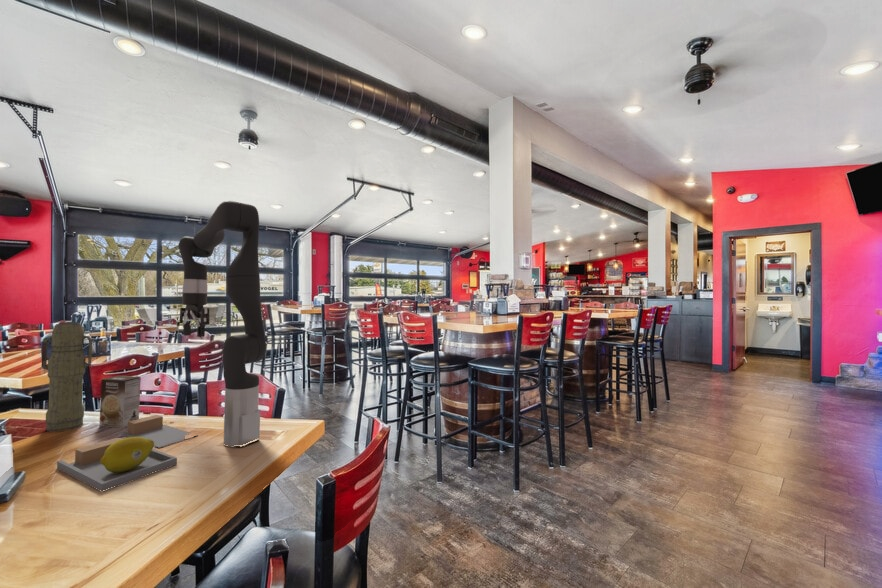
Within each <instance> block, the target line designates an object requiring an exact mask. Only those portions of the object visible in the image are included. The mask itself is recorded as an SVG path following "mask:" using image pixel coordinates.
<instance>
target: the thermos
mask: <svg viewBox="0 0 882 588" xmlns="http://www.w3.org/2000/svg"><path fill="white" fill-rule="evenodd" d="M86 339H87V340H88V359H87V358H86V355H85V352H84V344H85V343H84V342H85V340H86ZM49 341H51V343H50V344H51V345H50V347H51V349H52V350H51V351H50V356H49V358H48V357H47V356H48V342H49ZM92 349H93V339H92V338H91V336H90V335H85V329H84V327H83V325H82V323H81V322H77V321H76V322H75V321H73V322H72V321H71V322H68V321H67V322H66V321H65V322H58V323H56V324H55V325H54V327H53V329H52V331H51V336H49V337H46V338H45V339H44V340H42V342H41V368H43V370H46V371H47V377H48V378H49V382H48V383H49V384H48V388H49V389H48V407H47V410H46V413H45V423H46V428H45V431H46V430H47V431H46V432H50V431H55V432H62V431H69V430H72V429H73V430H74V429H76V428H79V427H82V426H83V425H84V417H85V406H84V404H83V390H84V389H83V387H84V386H83V385H84V375H85V374H86V368H87V367H91V366H92V359H93V358H92V357H93V356H92V354H93V353H92V352H93V350H92ZM86 359H87V360H88V361H86Z"/></svg>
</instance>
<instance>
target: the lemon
mask: <svg viewBox="0 0 882 588" xmlns="http://www.w3.org/2000/svg"><path fill="white" fill-rule="evenodd" d="M120 439H121V440H119V441H117V442H115V443H113V444H112V445H110V446H109V447H108V448H107V450H106V451H105V453H104V456H103V457H102V458H101V460H100V463H101V464H102V465H104V466H105V468H106V470H108V471H110V472H113V473H120V472H125V471H129V470H131V469H133V468H135V467H137V466H138V465H140V464H141V463H142V462H143V461H145V459H146V458H147V457H148V455H149V453H150V452H151V450H152V449H154V448H155V447H154V441H153V440H150V439H146V438H142V437H125V438H120Z"/></svg>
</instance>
